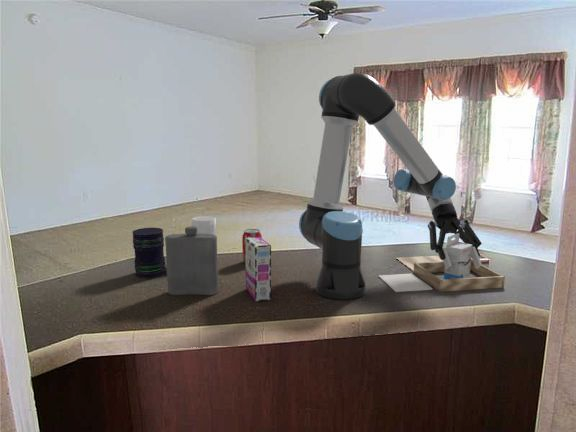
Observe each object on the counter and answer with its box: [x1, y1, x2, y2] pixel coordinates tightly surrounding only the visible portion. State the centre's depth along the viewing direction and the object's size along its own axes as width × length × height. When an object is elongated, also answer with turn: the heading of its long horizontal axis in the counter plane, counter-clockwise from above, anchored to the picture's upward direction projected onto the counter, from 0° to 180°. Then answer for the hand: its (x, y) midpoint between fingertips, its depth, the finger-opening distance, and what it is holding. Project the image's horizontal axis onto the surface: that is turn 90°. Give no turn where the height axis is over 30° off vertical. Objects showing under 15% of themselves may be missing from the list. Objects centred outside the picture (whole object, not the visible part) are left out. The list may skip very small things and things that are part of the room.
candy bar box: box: [245, 237, 272, 302], centre depth 129 cm, size 11×5×16 cm, turn 21°
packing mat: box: [378, 272, 434, 293], centre depth 141 cm, size 12×14×1 cm
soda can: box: [241, 228, 263, 264], centre depth 160 cm, size 7×7×12 cm
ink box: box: [443, 233, 472, 279], centre depth 142 cm, size 8×5×15 cm, turn 134°
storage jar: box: [132, 227, 166, 280], centre depth 147 cm, size 10×10×15 cm
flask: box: [164, 225, 219, 296], centre depth 131 cm, size 15×6×20 cm, turn 91°
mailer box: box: [395, 255, 506, 293], centre depth 151 cm, size 22×34×4 cm, turn 10°
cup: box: [191, 215, 219, 262], centre depth 162 cm, size 9×9×16 cm
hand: (464, 267), depth 139 cm, fingers closed on ink box, 9 cm apart
